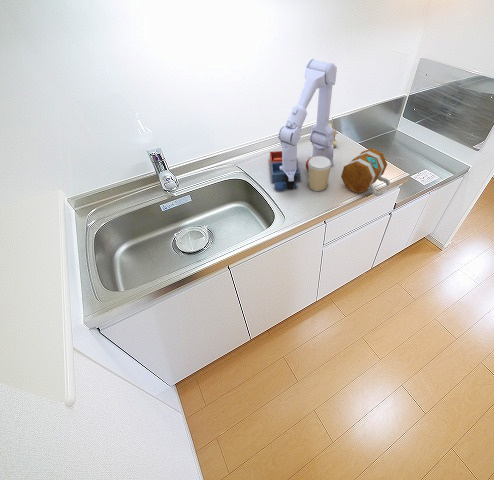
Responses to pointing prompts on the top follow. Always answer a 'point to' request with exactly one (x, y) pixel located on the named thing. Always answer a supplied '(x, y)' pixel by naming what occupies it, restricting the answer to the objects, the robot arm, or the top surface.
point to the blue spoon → (282, 186)
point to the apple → (307, 164)
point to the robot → (334, 136)
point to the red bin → (275, 156)
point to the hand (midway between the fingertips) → (289, 185)
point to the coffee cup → (318, 172)
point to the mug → (365, 172)
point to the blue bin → (281, 173)
